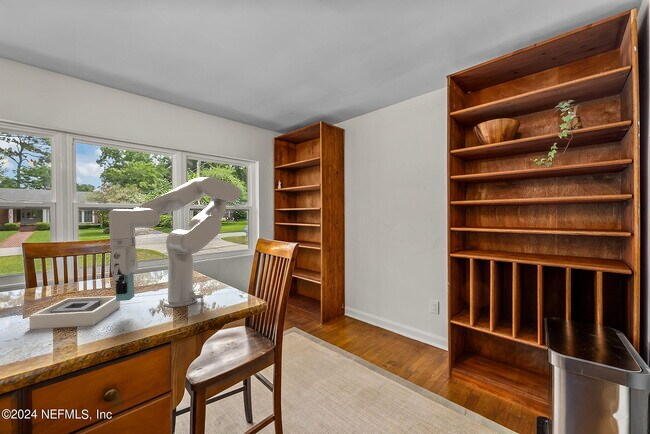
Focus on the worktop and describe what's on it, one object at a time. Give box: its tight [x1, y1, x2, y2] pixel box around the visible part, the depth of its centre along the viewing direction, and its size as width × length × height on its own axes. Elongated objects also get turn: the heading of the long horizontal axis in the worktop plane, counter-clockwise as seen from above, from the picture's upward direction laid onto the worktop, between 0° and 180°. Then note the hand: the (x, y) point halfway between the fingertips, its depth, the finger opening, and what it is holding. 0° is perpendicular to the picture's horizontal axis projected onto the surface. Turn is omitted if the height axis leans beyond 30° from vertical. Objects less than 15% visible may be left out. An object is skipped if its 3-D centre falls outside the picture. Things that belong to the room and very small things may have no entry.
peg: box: [114, 272, 135, 302], centre depth 101 cm, size 4×4×10 cm
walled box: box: [28, 295, 121, 330], centre depth 100 cm, size 18×18×4 cm
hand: (125, 291), depth 101 cm, fingers closed on peg, 4 cm apart
